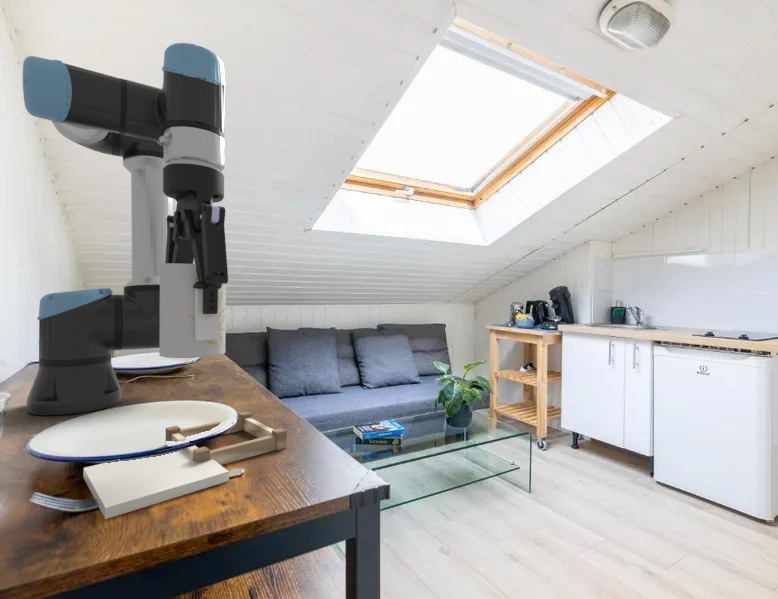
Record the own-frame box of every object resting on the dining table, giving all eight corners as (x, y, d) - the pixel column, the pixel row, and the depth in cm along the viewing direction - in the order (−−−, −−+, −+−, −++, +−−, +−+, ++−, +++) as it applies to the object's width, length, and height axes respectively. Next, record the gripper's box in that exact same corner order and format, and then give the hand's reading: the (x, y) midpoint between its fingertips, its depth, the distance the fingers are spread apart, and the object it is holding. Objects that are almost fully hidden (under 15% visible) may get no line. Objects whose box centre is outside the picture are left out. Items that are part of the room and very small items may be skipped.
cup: (202, 359, 52) (203, 263, 52) (144, 356, 54) (145, 263, 54) (236, 350, 60) (237, 267, 60) (185, 348, 62) (186, 267, 62)
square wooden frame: (165, 444, 64) (165, 427, 64) (247, 426, 73) (247, 411, 73) (197, 472, 54) (197, 453, 54) (286, 447, 64) (286, 430, 64)
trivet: (83, 477, 53) (83, 467, 53) (191, 450, 62) (191, 442, 62) (105, 519, 43) (105, 507, 43) (228, 480, 52) (228, 471, 52)
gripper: (139, 177, 61) (138, 332, 62) (197, 143, 47) (195, 346, 47) (192, 186, 67) (191, 329, 67) (258, 159, 52) (257, 341, 52)
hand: (193, 336), depth 57 cm, fingers closed on cup, 8 cm apart
